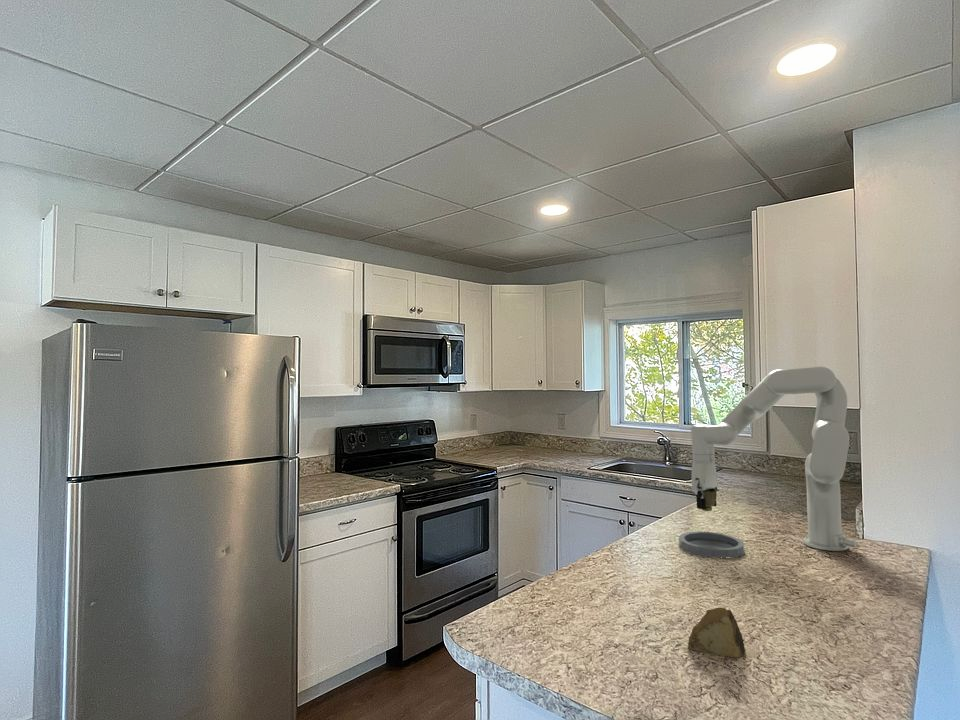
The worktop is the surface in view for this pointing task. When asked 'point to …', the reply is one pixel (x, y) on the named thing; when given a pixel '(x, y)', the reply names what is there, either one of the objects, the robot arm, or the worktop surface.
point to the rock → (717, 634)
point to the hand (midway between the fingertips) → (706, 506)
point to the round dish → (711, 544)
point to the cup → (709, 498)
